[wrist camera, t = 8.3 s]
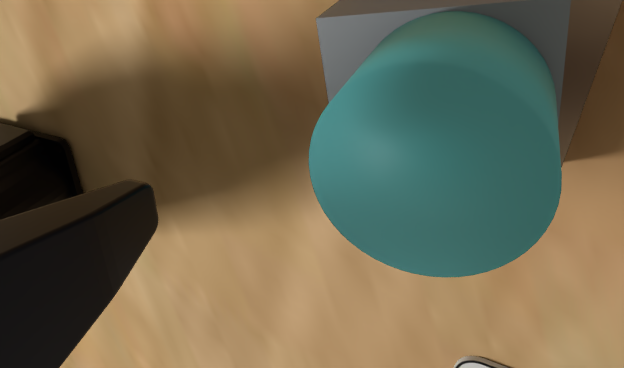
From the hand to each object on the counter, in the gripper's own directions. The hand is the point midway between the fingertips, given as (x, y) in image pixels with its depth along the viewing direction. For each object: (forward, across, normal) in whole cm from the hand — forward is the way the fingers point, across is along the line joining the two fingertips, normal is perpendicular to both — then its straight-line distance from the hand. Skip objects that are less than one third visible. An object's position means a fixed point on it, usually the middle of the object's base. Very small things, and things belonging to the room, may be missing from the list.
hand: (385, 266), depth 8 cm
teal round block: (+7, 0, 0) cm, 7 cm away
